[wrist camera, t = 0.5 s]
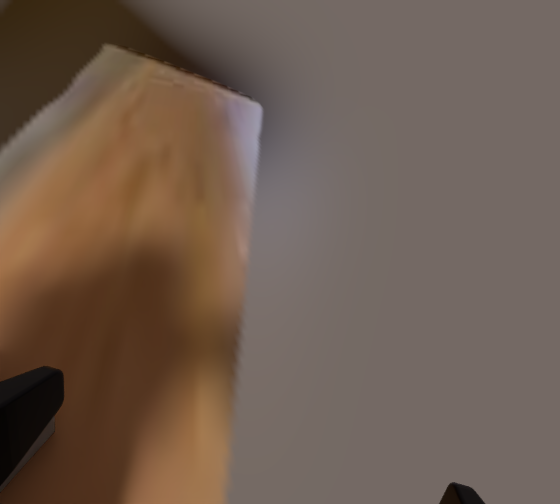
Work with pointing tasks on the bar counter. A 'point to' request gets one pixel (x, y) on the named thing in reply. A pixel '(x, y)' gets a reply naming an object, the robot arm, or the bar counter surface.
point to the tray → (32, 450)
